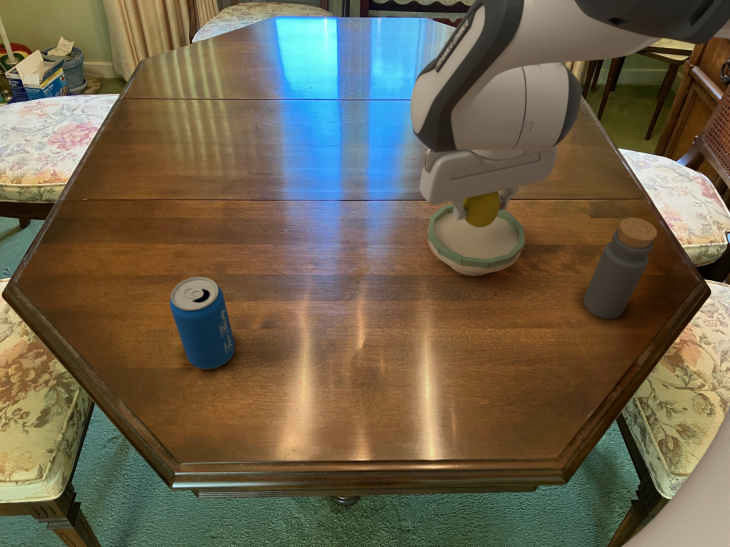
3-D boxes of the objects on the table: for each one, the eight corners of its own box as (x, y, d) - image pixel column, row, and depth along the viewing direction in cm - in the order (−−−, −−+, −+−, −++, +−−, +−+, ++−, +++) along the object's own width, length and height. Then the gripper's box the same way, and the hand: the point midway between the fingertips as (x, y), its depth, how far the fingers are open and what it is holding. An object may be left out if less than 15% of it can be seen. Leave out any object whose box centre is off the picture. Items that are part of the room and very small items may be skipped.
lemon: (496, 219, 87) (506, 176, 82) (492, 240, 83) (502, 197, 78) (461, 212, 88) (468, 170, 83) (456, 234, 84) (463, 191, 79)
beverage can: (221, 378, 73) (204, 317, 65) (178, 364, 74) (156, 304, 66) (244, 342, 77) (231, 281, 69) (203, 330, 79) (186, 269, 70)
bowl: (535, 278, 87) (544, 248, 83) (450, 301, 83) (455, 272, 79) (487, 222, 97) (493, 193, 93) (410, 241, 94) (413, 212, 89)
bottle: (597, 285, 86) (630, 209, 76) (630, 307, 83) (670, 230, 73) (575, 302, 84) (606, 226, 73) (609, 325, 80) (647, 248, 70)
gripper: (437, 156, 69) (427, 240, 79) (572, 129, 75) (547, 211, 84) (416, 132, 74) (409, 214, 83) (546, 108, 79) (525, 188, 89)
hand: (479, 212), depth 84 cm, fingers closed on lemon, 5 cm apart
